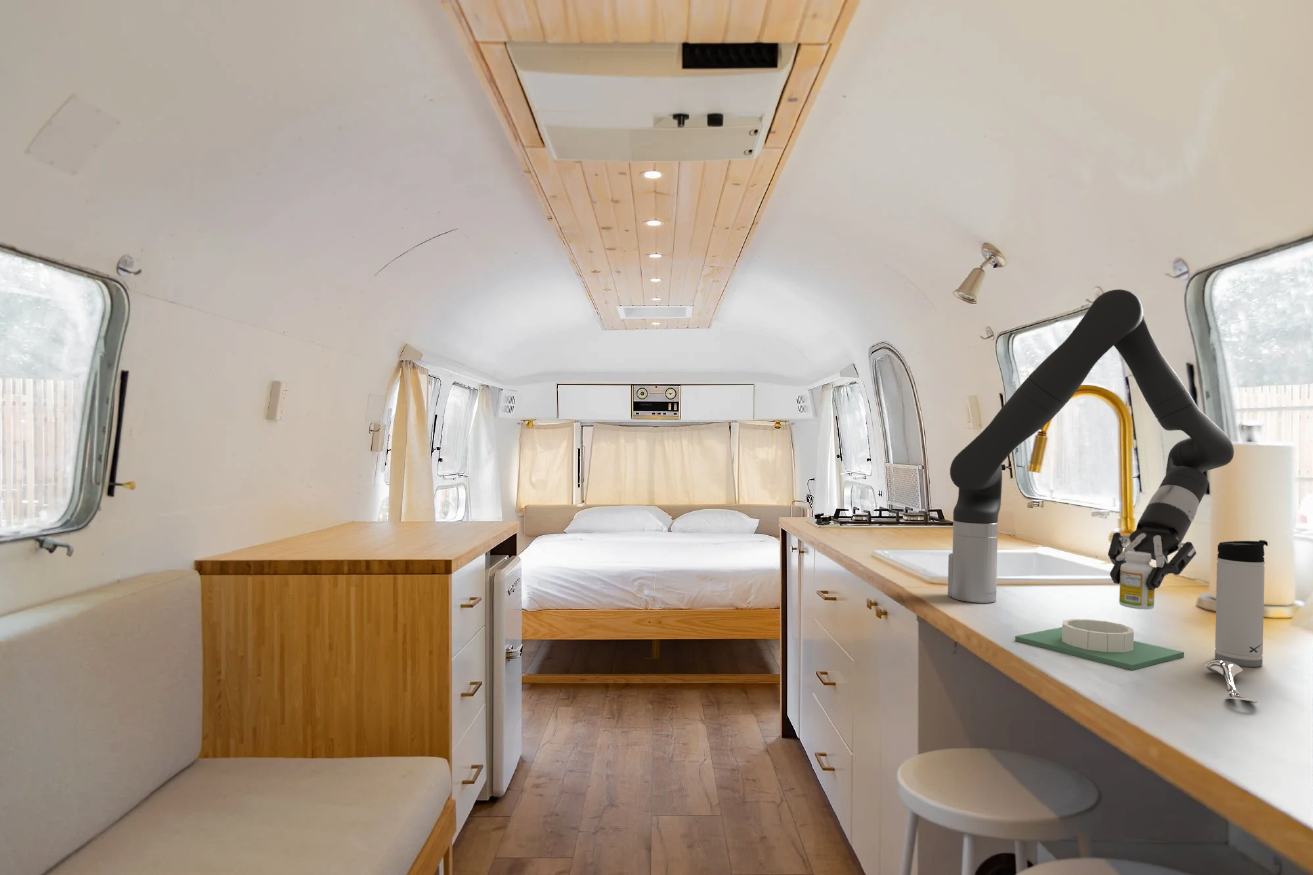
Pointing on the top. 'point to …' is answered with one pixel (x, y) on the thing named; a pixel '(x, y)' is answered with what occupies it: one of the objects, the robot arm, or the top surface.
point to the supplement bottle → (1136, 581)
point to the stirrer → (1228, 677)
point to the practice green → (1100, 643)
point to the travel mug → (1240, 602)
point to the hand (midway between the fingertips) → (1132, 583)
